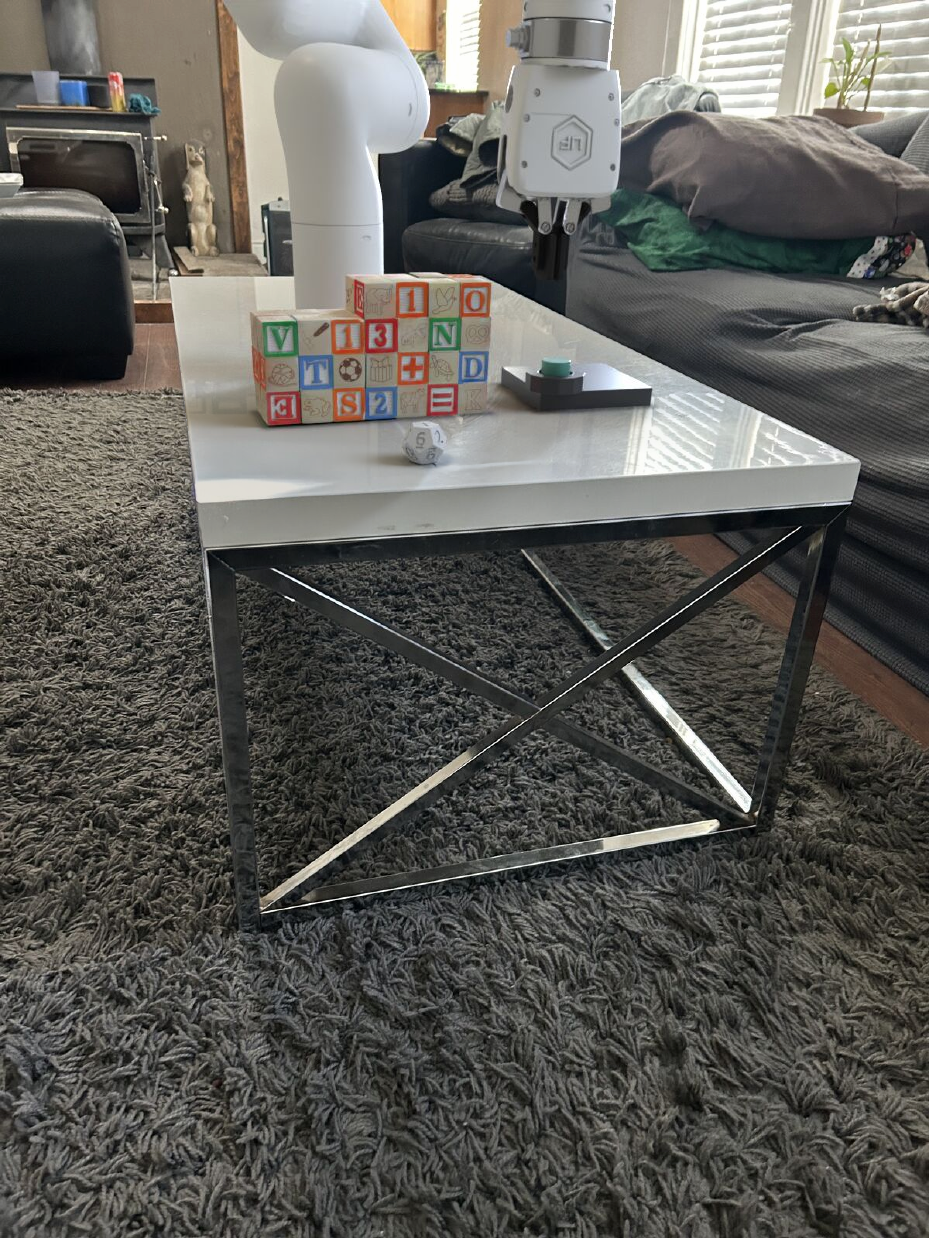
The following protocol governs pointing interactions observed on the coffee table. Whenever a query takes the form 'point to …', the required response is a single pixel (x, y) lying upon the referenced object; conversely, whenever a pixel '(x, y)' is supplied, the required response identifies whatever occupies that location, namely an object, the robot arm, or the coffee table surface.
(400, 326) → the stack of blocks
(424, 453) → the game die
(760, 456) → the coffee table surface
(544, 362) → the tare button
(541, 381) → the dark grey flat block
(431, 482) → the coffee table surface
